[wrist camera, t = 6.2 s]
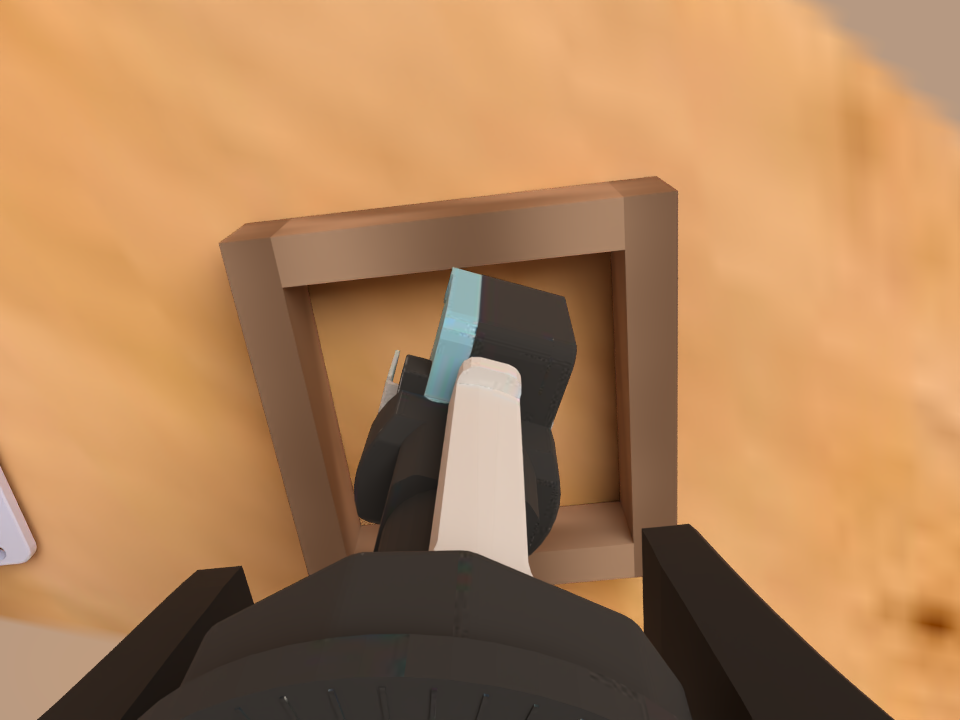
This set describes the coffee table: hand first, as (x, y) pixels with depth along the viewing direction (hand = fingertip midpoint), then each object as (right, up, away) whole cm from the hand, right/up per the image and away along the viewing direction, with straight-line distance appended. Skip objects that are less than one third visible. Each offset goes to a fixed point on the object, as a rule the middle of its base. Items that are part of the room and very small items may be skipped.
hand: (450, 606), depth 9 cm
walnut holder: (0, +2, +10) cm, 11 cm away
